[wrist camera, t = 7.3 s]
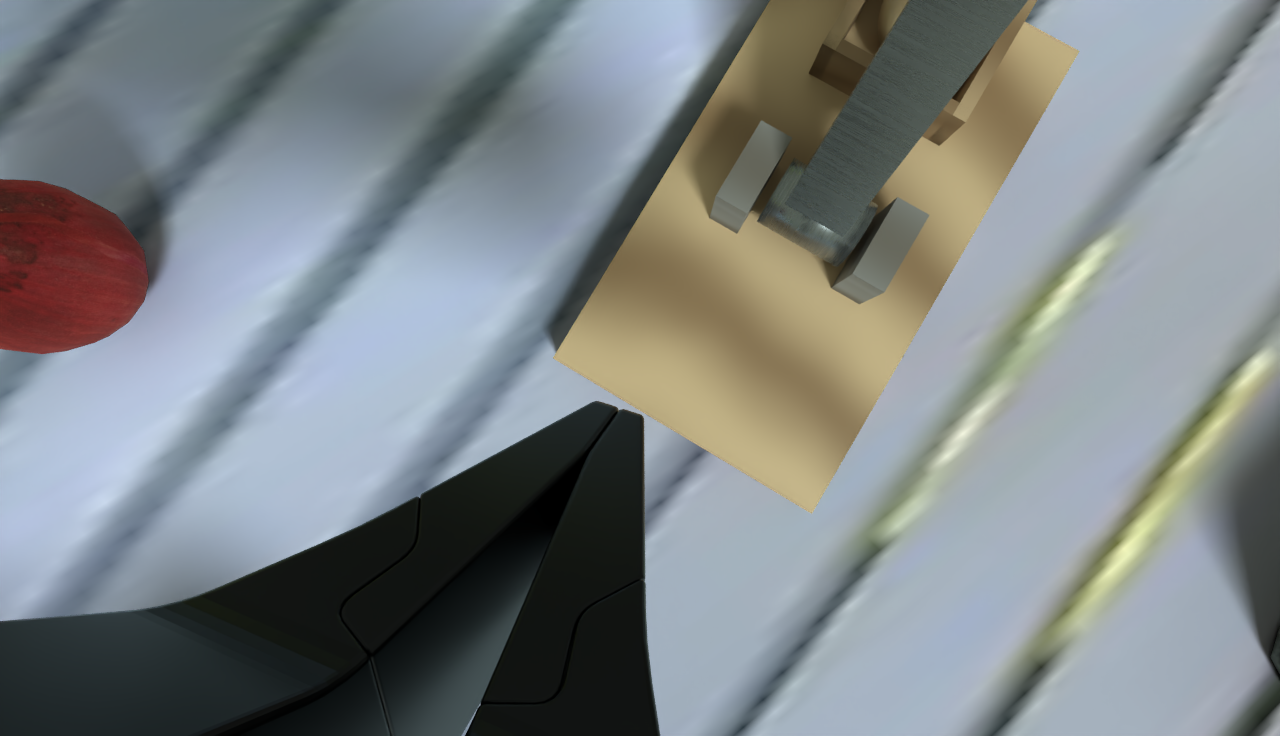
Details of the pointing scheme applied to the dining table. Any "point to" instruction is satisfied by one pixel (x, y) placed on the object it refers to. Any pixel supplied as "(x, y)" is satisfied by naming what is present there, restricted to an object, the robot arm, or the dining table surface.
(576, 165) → the dining table surface
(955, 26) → the lever
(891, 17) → the beige ball
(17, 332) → the onion
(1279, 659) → the cash box
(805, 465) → the base
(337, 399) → the dining table surface
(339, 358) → the dining table surface
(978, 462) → the dining table surface
